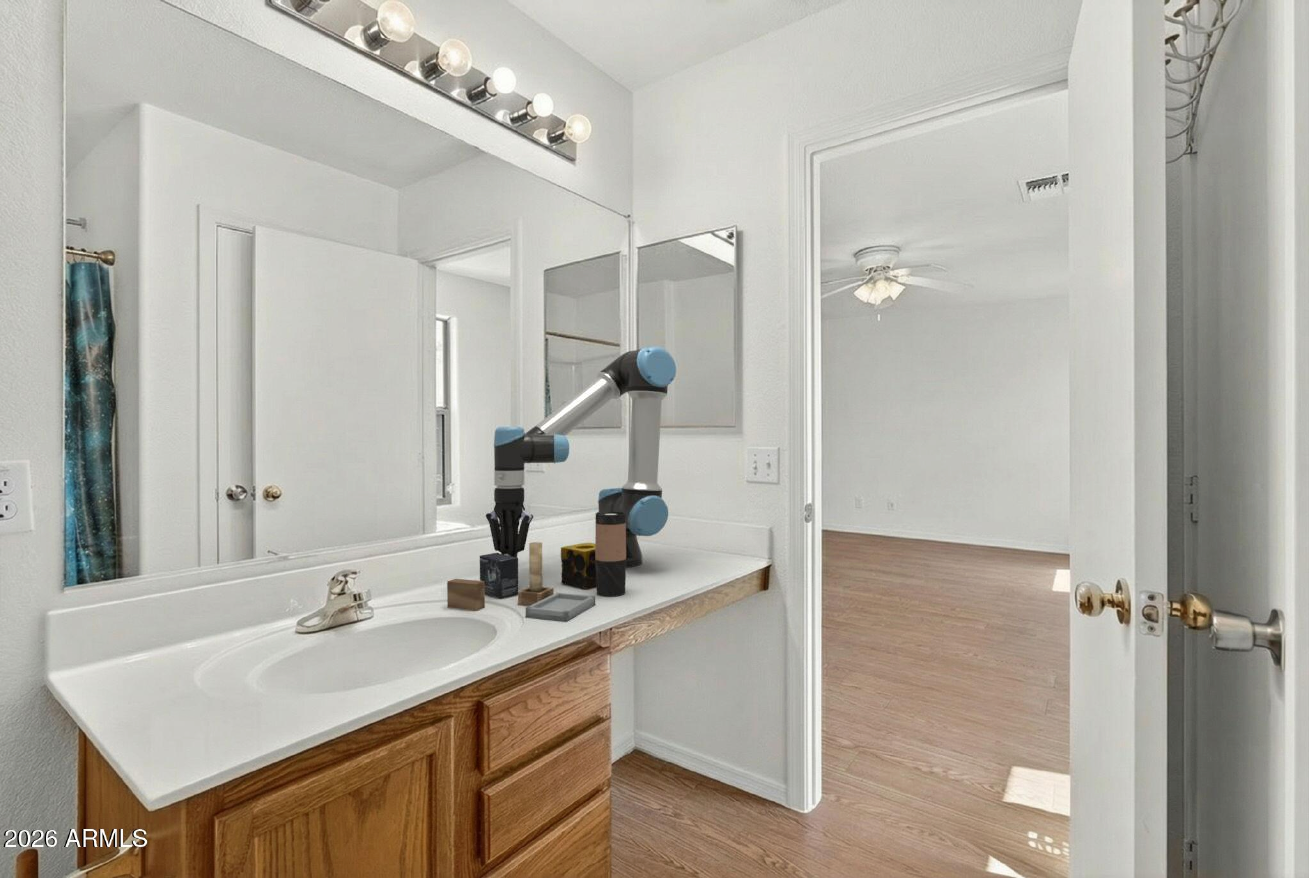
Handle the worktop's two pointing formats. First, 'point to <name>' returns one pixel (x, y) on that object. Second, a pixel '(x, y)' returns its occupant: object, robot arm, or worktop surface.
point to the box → (499, 575)
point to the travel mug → (610, 553)
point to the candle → (579, 565)
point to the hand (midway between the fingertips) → (509, 578)
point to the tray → (560, 606)
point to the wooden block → (466, 594)
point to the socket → (533, 596)
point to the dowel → (535, 567)
